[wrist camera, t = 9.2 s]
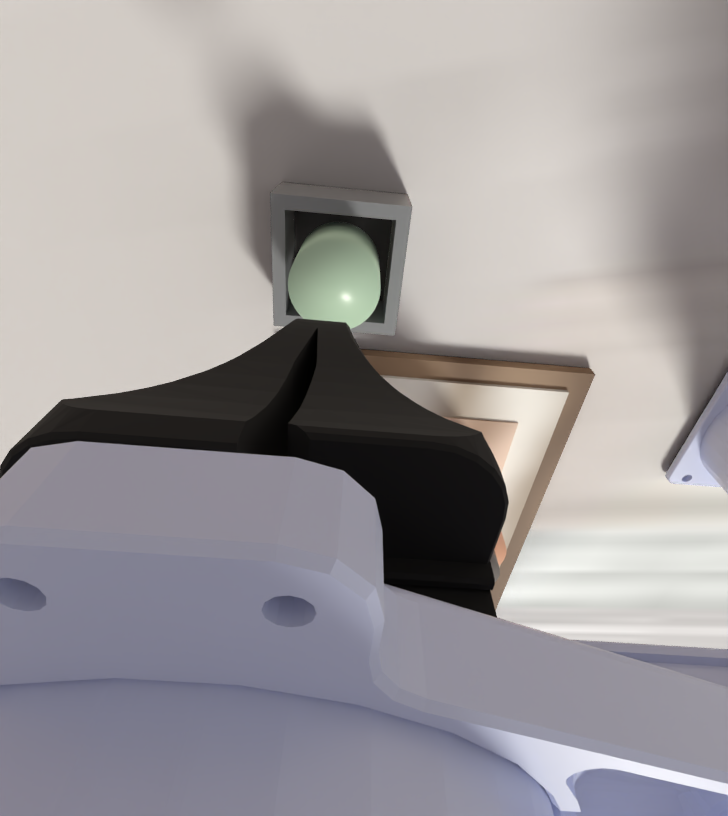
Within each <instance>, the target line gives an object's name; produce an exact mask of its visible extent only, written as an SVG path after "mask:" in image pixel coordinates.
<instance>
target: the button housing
mask: <svg viewBox="0 0 728 816" xmlns="http://www.w3.org/2000/svg"><path fill="white" fill-rule="evenodd" d="M270 204H271V242H272V280H273V317H274V326H286V325H288V324H289V323H290V322H292V321H293V320H295V319H297V318H299V319H303V318H302V317H301V316H300V314H299V313H298V312H297V311H296V309H295V308H294V306H293V304H292V302H291V299H290V296H289V291H288V277H289V272H290V269H291V267H292V265H293V263H294V260H295V211H304V212H314V213H325V214H336V215H346V216H357V217H368V218H378V219H389V220H392V226H391V235H390V244H389V253H388V261H387V270H386V279H385V288H384V297H383V301H378V304H377V306H376V308H375V310H374V311H373V313H372V314H371V315H370V317H369V318H368V319H367V320H365V321H364V322H363V323H362V324H360V325H358V326H356V327H354V328H352V329H350V330H351V332H356V333H367V334H379V335H391V336H395V331H396V324H397V316H398V309H399V301H400V294H401V287H402V279H403V272H404V264H405V257H406V249H407V242H408V235H409V227H410V220H411V212H412V205H411V202H410V199H409V196H408V194H399V193H389V192H378V191H368V190H358V189H347V188H337V187H326V186H316V185H306V184H295V183H285V182H282V183H280V184H279V185H278V186H277V187H276V188H275V189H274V190H273V191H272V192H271V193H270Z"/></svg>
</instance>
